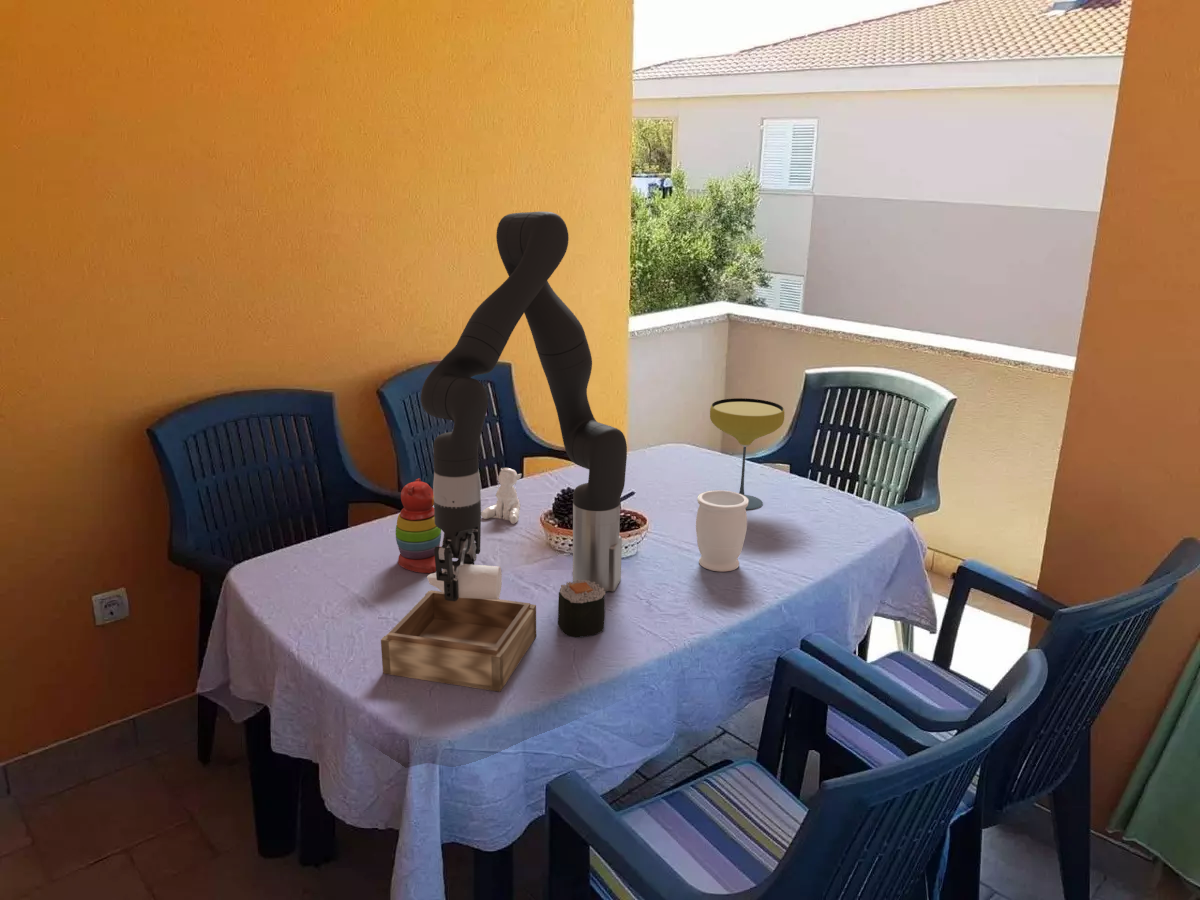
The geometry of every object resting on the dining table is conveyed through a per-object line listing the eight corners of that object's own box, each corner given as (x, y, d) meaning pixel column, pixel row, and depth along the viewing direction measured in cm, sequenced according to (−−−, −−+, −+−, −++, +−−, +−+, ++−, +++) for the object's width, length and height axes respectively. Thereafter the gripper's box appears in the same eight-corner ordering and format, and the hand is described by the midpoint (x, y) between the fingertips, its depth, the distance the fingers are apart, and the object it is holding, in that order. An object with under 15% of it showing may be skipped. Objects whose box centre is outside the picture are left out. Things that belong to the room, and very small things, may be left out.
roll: (432, 587, 151) (431, 556, 150) (502, 589, 151) (501, 559, 149) (423, 602, 145) (422, 571, 144) (496, 605, 145) (495, 574, 143)
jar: (749, 559, 191) (754, 494, 186) (736, 578, 182) (740, 510, 177) (702, 550, 195) (706, 486, 190) (687, 568, 186) (690, 501, 181)
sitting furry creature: (479, 518, 211) (478, 471, 207) (496, 507, 219) (495, 460, 215) (515, 524, 208) (514, 476, 204) (531, 512, 216) (530, 465, 212)
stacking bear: (434, 574, 181) (430, 493, 176) (388, 569, 183) (383, 488, 178) (453, 553, 191) (450, 475, 186) (409, 549, 193) (405, 472, 188)
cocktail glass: (726, 485, 236) (731, 394, 229) (789, 500, 226) (797, 405, 219) (692, 504, 222) (696, 408, 215) (757, 521, 212) (764, 420, 205)
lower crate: (536, 636, 158) (536, 604, 156) (500, 691, 141) (499, 657, 139) (430, 621, 162) (428, 590, 160) (382, 673, 145) (380, 639, 143)
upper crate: (530, 633, 157) (530, 603, 155) (497, 684, 141) (496, 650, 139) (432, 620, 161) (430, 590, 159) (389, 667, 146) (387, 634, 144)
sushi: (569, 641, 156) (569, 600, 154) (552, 620, 164) (552, 580, 161) (611, 632, 159) (612, 592, 157) (593, 612, 167) (593, 573, 164)
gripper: (461, 514, 135) (464, 613, 140) (494, 485, 149) (496, 575, 154) (416, 509, 137) (420, 607, 142) (453, 480, 151) (456, 570, 155)
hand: (460, 590), depth 148 cm, fingers closed on roll, 6 cm apart
